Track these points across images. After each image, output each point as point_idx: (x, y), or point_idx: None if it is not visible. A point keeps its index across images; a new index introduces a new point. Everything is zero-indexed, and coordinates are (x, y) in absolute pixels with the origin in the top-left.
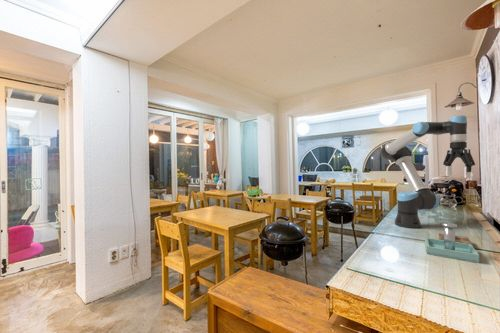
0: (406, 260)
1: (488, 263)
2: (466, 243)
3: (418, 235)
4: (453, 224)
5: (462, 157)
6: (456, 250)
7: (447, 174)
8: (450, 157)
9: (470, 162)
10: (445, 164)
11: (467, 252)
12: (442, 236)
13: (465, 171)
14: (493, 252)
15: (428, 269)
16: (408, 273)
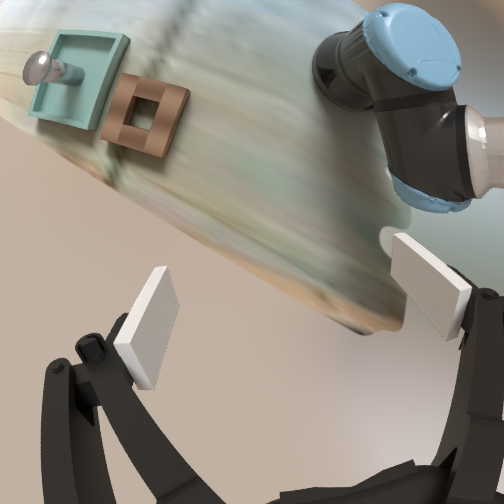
0: (43, 3)
1: (42, 132)
2: (104, 126)
3: (219, 46)
4: (31, 76)
5: (144, 480)
6: (78, 92)
7: (402, 243)
8: (493, 413)
9: (47, 389)
10: (497, 295)
11: (71, 111)
12: (152, 85)
13: (137, 302)
14: (104, 180)
15: (16, 33)
16: (9, 11)
